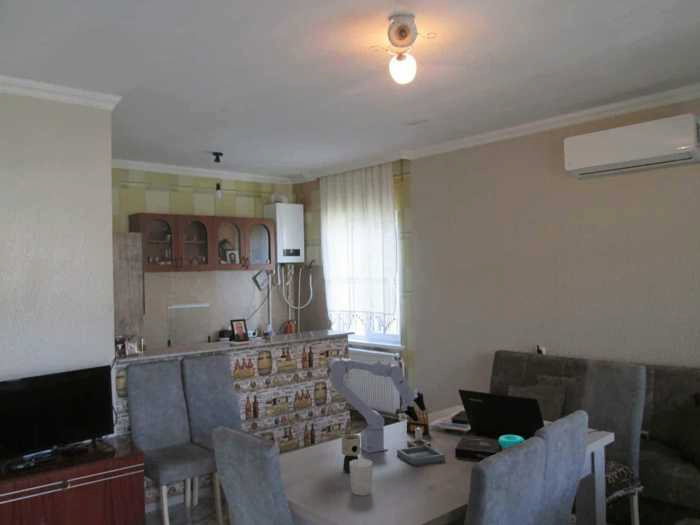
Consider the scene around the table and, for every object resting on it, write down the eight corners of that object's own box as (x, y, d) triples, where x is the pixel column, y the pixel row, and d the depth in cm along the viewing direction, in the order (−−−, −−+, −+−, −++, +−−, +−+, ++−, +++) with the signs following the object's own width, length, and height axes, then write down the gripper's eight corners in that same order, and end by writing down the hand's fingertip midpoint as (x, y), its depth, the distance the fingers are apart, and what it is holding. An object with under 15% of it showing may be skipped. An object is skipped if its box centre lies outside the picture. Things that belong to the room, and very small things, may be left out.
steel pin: (417, 448, 237) (417, 429, 237) (414, 446, 239) (413, 428, 240) (423, 447, 238) (423, 428, 238) (420, 445, 241) (419, 427, 241)
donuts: (521, 433, 221) (528, 441, 211) (522, 459, 221) (528, 467, 211) (496, 433, 222) (501, 441, 212) (496, 459, 222) (502, 467, 212)
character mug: (350, 477, 204) (350, 441, 204) (335, 473, 208) (334, 439, 209) (367, 468, 213) (366, 434, 213) (351, 465, 217) (351, 432, 218)
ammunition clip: (406, 432, 261) (406, 407, 261) (407, 431, 262) (407, 406, 263) (428, 435, 256) (427, 409, 256) (429, 434, 258) (428, 408, 258)
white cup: (359, 485, 196) (359, 457, 196) (377, 491, 191) (376, 461, 191) (345, 492, 190) (344, 463, 190) (363, 498, 185) (362, 468, 185)
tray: (414, 466, 215) (414, 459, 215) (397, 455, 228) (396, 449, 228) (444, 460, 220) (444, 454, 220) (426, 450, 233) (426, 445, 233)
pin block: (415, 450, 234) (415, 445, 234) (407, 445, 241) (407, 441, 241) (431, 448, 237) (431, 443, 237) (422, 443, 244) (422, 438, 244)
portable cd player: (501, 449, 234) (501, 440, 234) (497, 462, 218) (496, 452, 218) (462, 446, 240) (462, 436, 240) (455, 458, 224) (455, 448, 224)
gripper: (404, 396, 232) (420, 423, 233) (418, 378, 243) (434, 404, 244) (391, 400, 236) (407, 426, 238) (406, 381, 248) (421, 407, 249)
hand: (420, 415), depth 241 cm, fingers open, 7 cm apart
